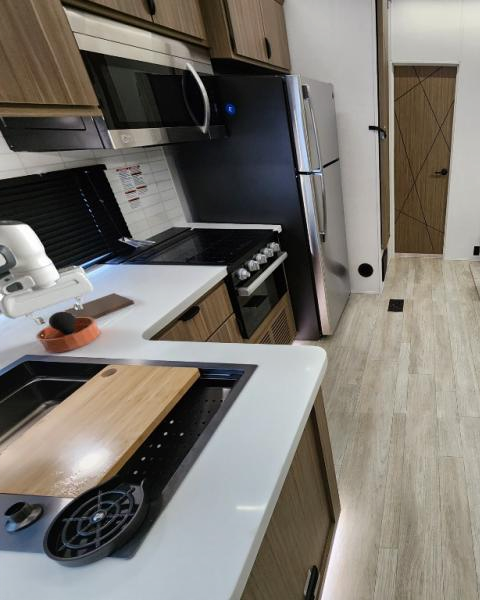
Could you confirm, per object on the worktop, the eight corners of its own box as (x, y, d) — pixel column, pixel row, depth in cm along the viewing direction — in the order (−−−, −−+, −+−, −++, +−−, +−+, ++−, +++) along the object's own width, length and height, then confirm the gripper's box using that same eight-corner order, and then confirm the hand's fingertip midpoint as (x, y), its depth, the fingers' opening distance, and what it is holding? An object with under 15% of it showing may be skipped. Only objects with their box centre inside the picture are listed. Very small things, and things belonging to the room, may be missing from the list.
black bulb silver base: (80, 332, 110) (66, 306, 105) (88, 337, 107) (73, 311, 102) (57, 341, 105) (41, 314, 101) (65, 347, 103) (48, 319, 98)
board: (84, 323, 116) (82, 319, 115) (66, 314, 122) (64, 310, 121) (134, 303, 128) (132, 300, 128) (115, 296, 134) (113, 293, 134)
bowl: (56, 358, 98) (48, 344, 96) (37, 346, 104) (28, 333, 102) (109, 335, 109) (102, 322, 107) (88, 325, 115) (82, 313, 112)
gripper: (75, 261, 105) (95, 299, 112) (-17, 287, 89) (12, 330, 96) (85, 265, 102) (105, 303, 109) (-9, 292, 87) (21, 335, 93)
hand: (61, 316), depth 102 cm, fingers open, 8 cm apart
